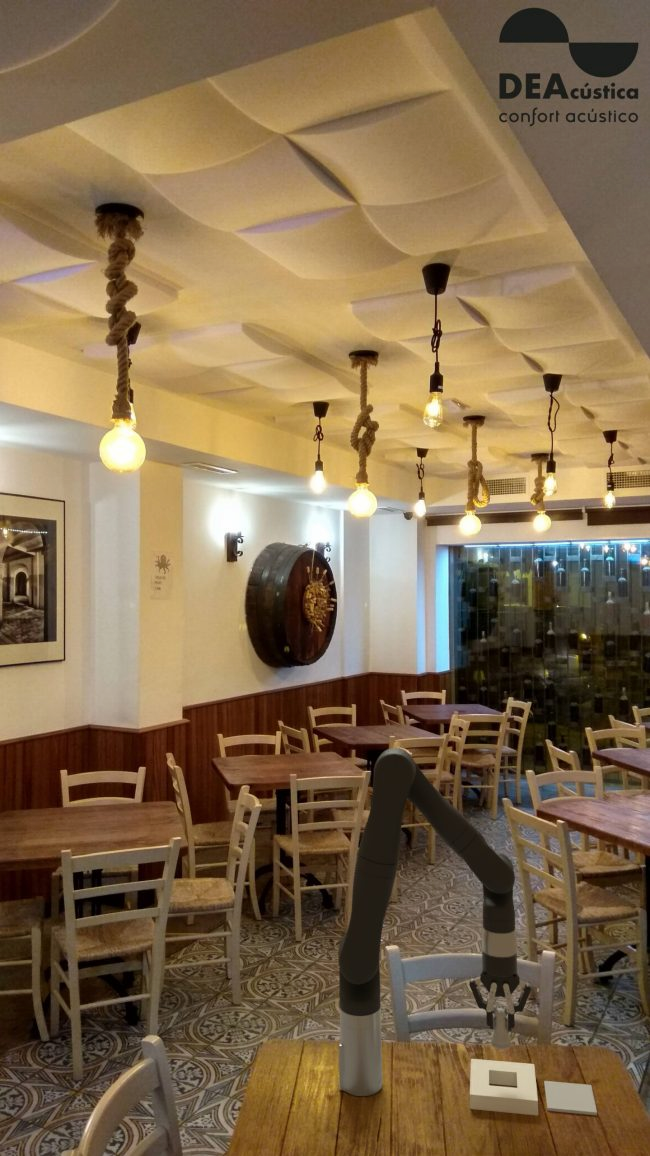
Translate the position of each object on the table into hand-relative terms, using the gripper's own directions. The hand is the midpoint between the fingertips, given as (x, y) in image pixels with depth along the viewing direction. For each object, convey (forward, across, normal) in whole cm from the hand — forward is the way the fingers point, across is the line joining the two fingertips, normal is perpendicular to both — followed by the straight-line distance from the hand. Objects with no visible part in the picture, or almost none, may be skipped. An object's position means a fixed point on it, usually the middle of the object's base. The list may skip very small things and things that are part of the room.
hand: (500, 1027), depth 179 cm
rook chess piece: (+4, 0, 0) cm, 4 cm away
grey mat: (+14, +14, 0) cm, 20 cm away
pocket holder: (+14, 0, 0) cm, 14 cm away
